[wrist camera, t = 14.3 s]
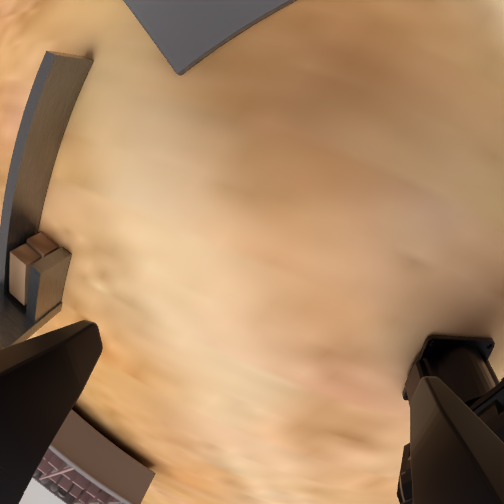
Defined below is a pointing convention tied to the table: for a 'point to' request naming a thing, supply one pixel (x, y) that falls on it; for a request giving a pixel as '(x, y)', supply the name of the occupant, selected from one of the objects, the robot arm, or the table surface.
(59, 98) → the board rack
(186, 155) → the table surface
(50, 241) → the block
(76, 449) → the organizer tray
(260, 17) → the rubber mat
